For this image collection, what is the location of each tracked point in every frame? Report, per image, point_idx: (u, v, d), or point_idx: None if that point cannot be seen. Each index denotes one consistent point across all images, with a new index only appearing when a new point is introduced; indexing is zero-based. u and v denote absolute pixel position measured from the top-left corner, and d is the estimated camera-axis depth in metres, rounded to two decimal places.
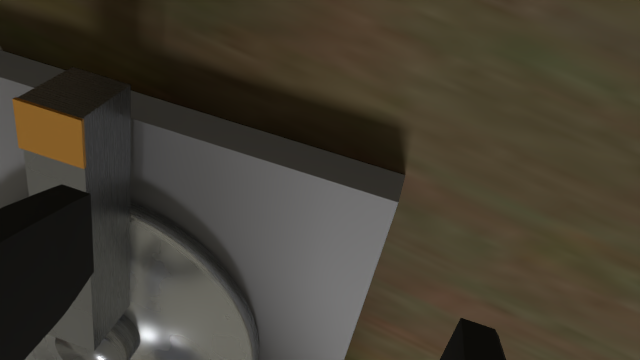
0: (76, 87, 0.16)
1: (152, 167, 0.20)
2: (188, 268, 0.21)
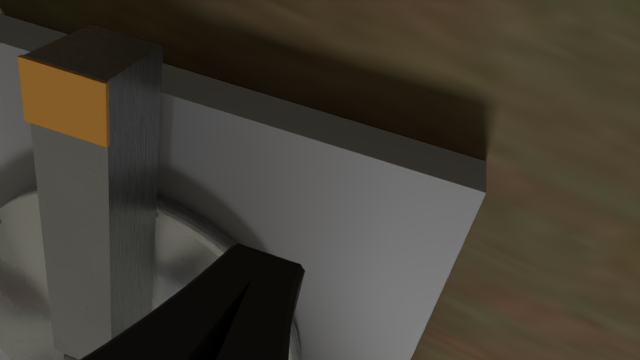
0: (98, 46, 0.13)
1: (182, 151, 0.17)
2: None
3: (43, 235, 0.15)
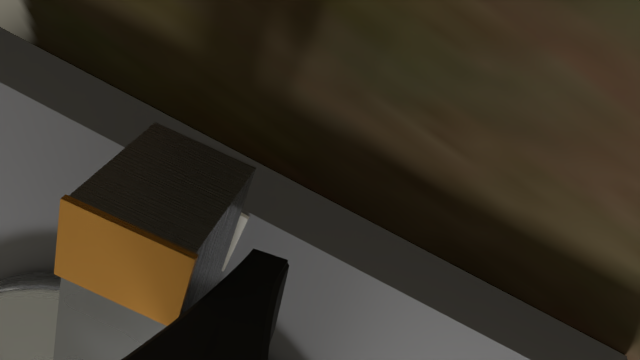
0: (171, 172, 0.09)
1: None
2: None
3: None
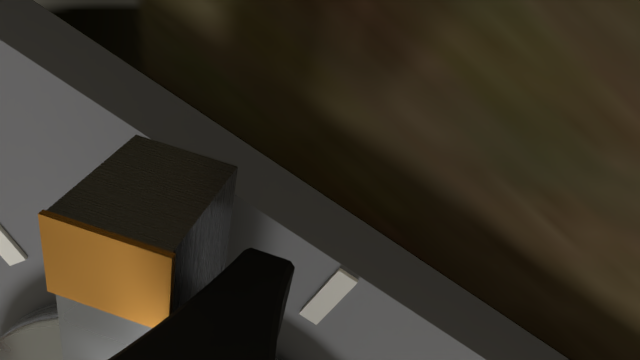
0: (150, 178, 0.09)
1: (352, 340, 0.13)
2: None
3: None
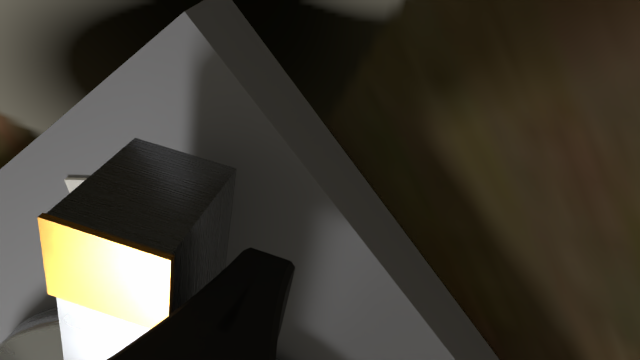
0: (150, 181, 0.09)
1: None
2: None
3: None
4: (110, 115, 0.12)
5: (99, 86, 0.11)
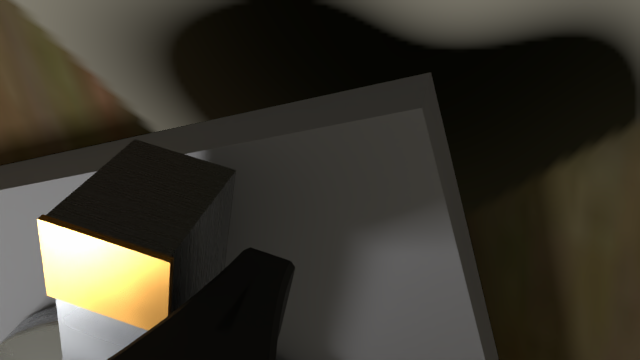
0: (149, 183, 0.09)
1: None
2: None
3: None
4: (282, 164, 0.11)
5: (286, 136, 0.11)
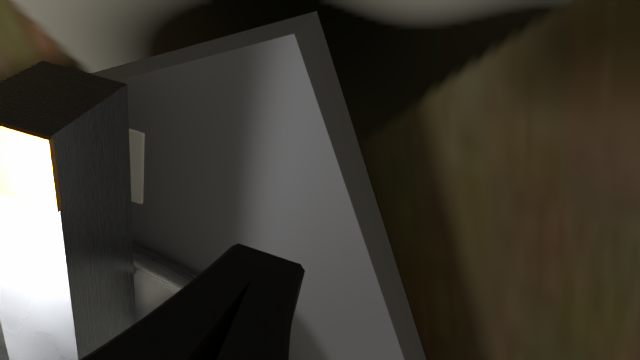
0: (46, 89, 0.11)
1: None
2: None
3: None
4: (186, 89, 0.13)
5: (187, 63, 0.13)
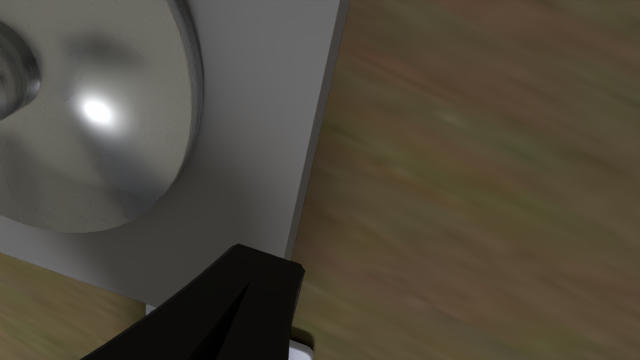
0: None
1: None
2: None
3: None
4: None
5: None
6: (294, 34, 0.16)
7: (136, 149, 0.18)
